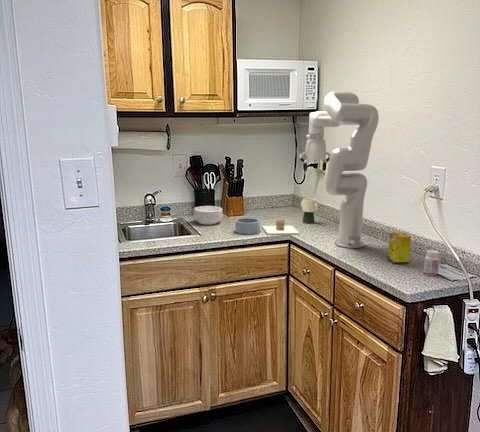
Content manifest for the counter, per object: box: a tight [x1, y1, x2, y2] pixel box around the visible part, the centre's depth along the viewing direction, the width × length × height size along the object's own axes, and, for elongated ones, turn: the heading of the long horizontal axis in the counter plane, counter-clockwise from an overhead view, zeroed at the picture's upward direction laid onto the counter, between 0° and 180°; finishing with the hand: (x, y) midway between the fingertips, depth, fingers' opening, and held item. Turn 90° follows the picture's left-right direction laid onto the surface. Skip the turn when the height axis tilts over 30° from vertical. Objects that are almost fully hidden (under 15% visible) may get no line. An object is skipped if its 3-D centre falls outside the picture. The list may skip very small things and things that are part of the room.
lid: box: [261, 217, 300, 236], centre depth 219 cm, size 15×15×6 cm
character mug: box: [300, 197, 319, 224], centre depth 238 cm, size 11×7×13 cm, turn 43°
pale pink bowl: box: [193, 205, 224, 226], centre depth 237 cm, size 15×15×8 cm
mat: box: [260, 226, 301, 236], centre depth 219 cm, size 16×16×1 cm
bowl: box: [234, 217, 262, 236], centre depth 217 cm, size 12×12×6 cm
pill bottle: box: [423, 249, 440, 276], centre depth 159 cm, size 5×5×8 cm
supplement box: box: [387, 232, 412, 265], centre depth 173 cm, size 6×6×11 cm
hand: (314, 170), depth 232 cm, fingers open, 9 cm apart
